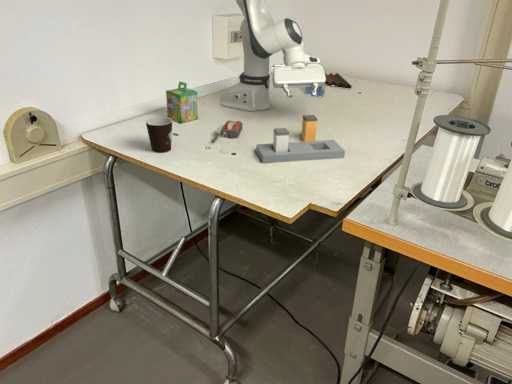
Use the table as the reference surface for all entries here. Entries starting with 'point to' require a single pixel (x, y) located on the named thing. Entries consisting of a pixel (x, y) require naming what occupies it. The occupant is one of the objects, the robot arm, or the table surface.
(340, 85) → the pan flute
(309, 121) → the orange plug
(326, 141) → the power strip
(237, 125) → the walkie-talkie
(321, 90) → the label tape box
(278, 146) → the white plug
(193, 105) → the chalk box
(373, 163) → the table surface
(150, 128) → the coffee mug
